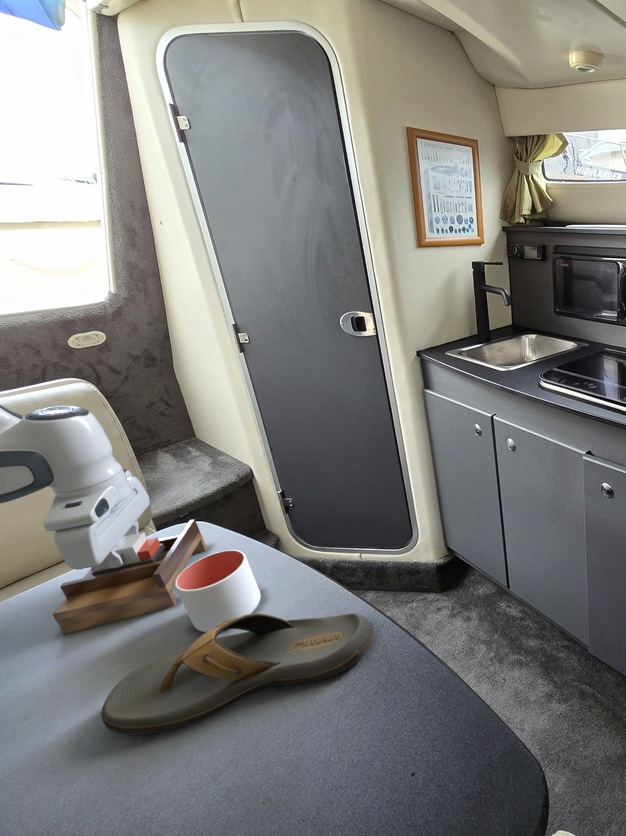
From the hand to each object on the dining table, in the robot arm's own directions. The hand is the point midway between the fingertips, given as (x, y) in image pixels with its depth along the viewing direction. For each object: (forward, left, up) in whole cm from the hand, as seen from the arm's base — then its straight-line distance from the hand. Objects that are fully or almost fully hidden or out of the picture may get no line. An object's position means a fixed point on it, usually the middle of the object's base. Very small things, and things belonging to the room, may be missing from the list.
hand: (126, 554), depth 92 cm
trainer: (0, 0, -2) cm, 2 cm away
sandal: (+26, -31, -8) cm, 41 cm away
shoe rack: (0, 0, -8) cm, 8 cm away
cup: (+18, -14, -8) cm, 24 cm away
